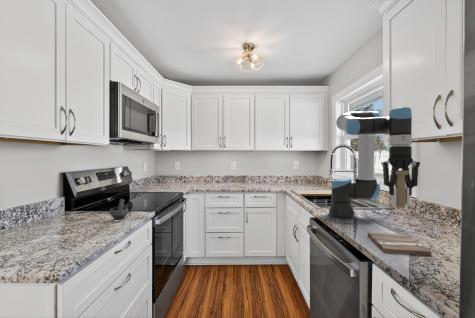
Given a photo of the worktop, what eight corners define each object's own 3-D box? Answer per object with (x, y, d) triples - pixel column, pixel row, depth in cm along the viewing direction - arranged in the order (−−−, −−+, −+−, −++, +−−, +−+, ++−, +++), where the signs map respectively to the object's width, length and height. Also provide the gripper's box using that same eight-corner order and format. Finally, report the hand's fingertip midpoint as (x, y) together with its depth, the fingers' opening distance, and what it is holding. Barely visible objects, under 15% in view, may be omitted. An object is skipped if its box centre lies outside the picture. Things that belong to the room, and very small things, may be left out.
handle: (398, 205, 100) (398, 170, 101) (412, 208, 94) (412, 170, 94) (389, 206, 100) (388, 170, 100) (402, 209, 93) (401, 170, 93)
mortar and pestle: (124, 222, 139) (124, 201, 139) (107, 222, 138) (107, 202, 138) (130, 217, 151) (130, 198, 150) (115, 217, 150) (115, 198, 150)
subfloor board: (367, 235, 113) (367, 231, 112) (405, 237, 109) (405, 233, 109) (384, 252, 93) (384, 247, 93) (431, 255, 90) (431, 250, 90)
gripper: (380, 146, 95) (380, 204, 95) (429, 145, 91) (429, 206, 92) (374, 146, 102) (374, 201, 102) (419, 146, 99) (419, 202, 99)
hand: (400, 203), depth 97 cm, fingers closed on handle, 4 cm apart
